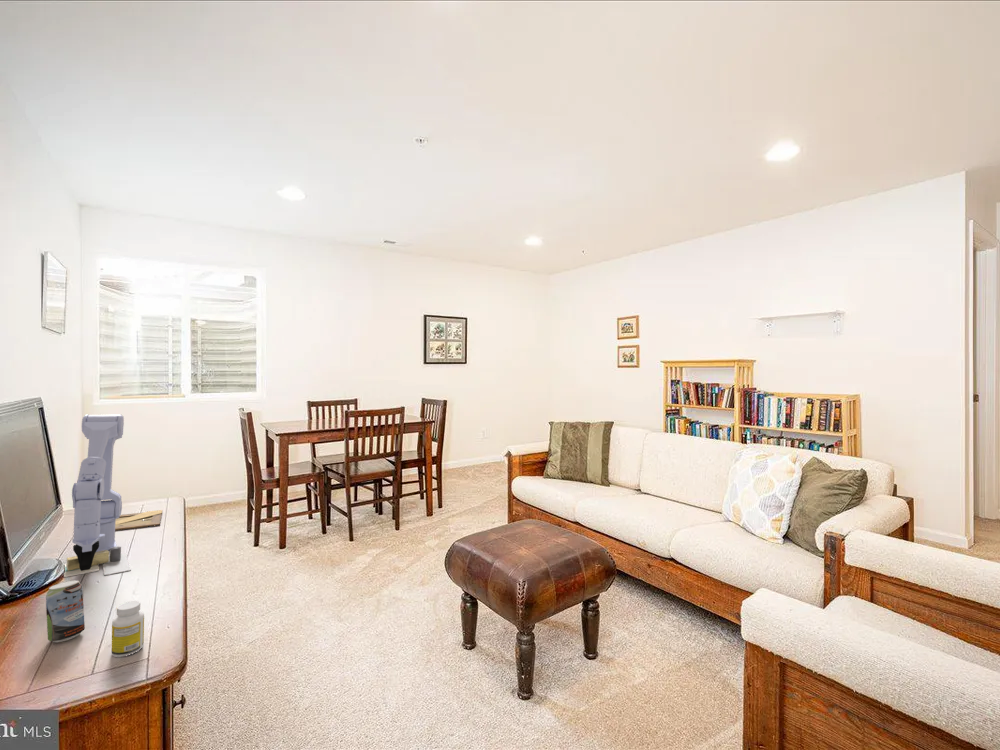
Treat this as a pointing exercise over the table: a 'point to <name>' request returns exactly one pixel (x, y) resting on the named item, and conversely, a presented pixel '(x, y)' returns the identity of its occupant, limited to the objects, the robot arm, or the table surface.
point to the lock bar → (98, 559)
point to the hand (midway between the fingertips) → (85, 569)
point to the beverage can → (65, 611)
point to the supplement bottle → (127, 629)
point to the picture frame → (138, 520)
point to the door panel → (106, 564)
